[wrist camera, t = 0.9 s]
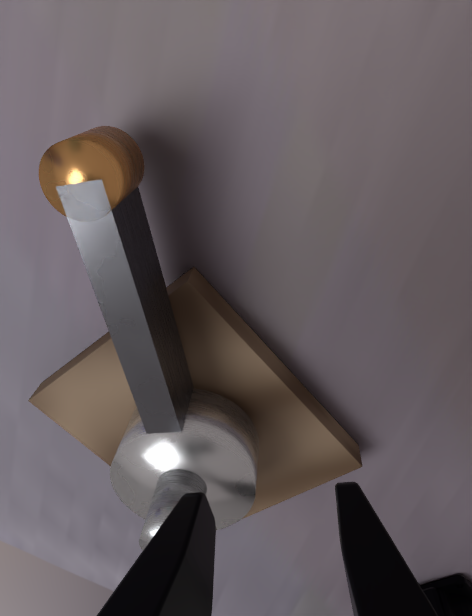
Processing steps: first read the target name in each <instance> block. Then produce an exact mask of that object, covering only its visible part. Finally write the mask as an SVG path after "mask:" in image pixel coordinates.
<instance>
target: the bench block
mask: <svg viewBox="0 0 472 616" xmlns="http://www.w3.org/2000/svg"><path fill="white" fill-rule="evenodd" d="M166 289H167V292H168V296H169V300H170V303H171V307H172V310H173V314H174V318H175V321H176V325H177V328H178V332H179V335H180V339H181V343H182V346H183V350H184V353H185V357H186V361H187V364H188V368H189V371H190V375H191V379H192V382H193V386H194V388H193V389H200V390H206V391H209V392H212V393H215V394H218V395H220V396H223V397H225V398H227V399H228V400H230V401H232V402H233V403H235V404H236V405H238V406H239V407H240V408H241V409H242V410H244V411H245V413H246V414H247V415H248V416H249V417H250V419H251V420H252V421H253V423H254V425H255V427H256V429H257V432H258V436H259V453H258V466H257V479H256V493H255V500H254V503H253V505H252V507H251V509H250V510H249V512H248V513H247V514H246V515H245V516H244V517H243V518H245V517H248V516H250V515H252V514H255V513H257V512H259V511H262V510H264V509H266V508H268V507H271V506H273V505H275V504H278V503H280V502H282V501H284V500H287V499H289V498H291V497H294V496H296V495H298V494H301V493H303V492H305V491H307V490H310V489H312V488H314V487H317V486H319V485H321V484H324V483H326V482H328V481H330V480H333V479H335V478H337V477H340V476H342V475H344V474H347V473H349V472H351V471H353V470H356V469H358V468H360V467H362V462H361V456H360V450H359V445H358V444H357V443H356V442H355V441H354V440H353V439H352V438H351V437H350V436H349V434H348V433H347V432H346V431H345V430H344V429H343V428H342V427H341V426H340V425H339V424H338V422H337V421H336V420H335V419H334V418H333V417H332V416H331V415H330V414H329V413H328V412H327V411H326V409H325V408H324V407H323V406H322V405H321V404H320V403H319V402H318V401H317V400H316V399H315V398H314V396H313V395H312V394H311V393H310V392H309V391H308V390H307V389H306V388H305V387H304V386H303V384H302V383H301V382H300V381H299V380H298V379H297V378H296V377H295V376H294V375H293V374H292V373H291V371H290V370H289V369H288V368H287V367H286V366H285V365H284V364H283V363H282V362H281V361H280V360H279V358H278V357H277V356H276V355H275V354H274V353H273V352H272V351H271V350H270V349H269V348H268V346H267V345H266V344H265V343H264V342H263V341H262V340H261V339H260V338H259V337H258V336H257V335H256V333H255V332H254V331H253V330H252V329H251V328H250V327H249V326H248V325H247V324H246V323H245V322H244V320H243V319H242V318H241V317H240V316H239V315H238V314H237V313H236V312H235V311H234V310H233V308H232V307H231V306H230V305H229V304H228V303H227V302H226V301H225V300H224V299H223V298H222V297H221V295H220V294H219V293H218V292H217V291H216V290H215V289H214V288H213V287H212V286H211V285H210V284H209V282H208V281H207V280H206V279H205V278H204V277H203V276H202V275H201V274H200V273H199V272H198V270H197V269H196V268H195V267H193V268H192V269H190V270H189V271H188V272H186V273H185V274H184V275H182V276H181V277H180V278H178V279H177V280H176V281H175V282H173V283H172V284H171V285H169V286H168V287H167V288H166ZM28 401H29V402H31V403H32V404H33V405H34V406H36V407H37V408H38V409H39V410H41V411H42V412H43V413H44V414H46V415H47V416H48V417H49V418H51V419H52V420H53V421H54V422H56V423H57V424H58V425H59V426H61V427H62V428H63V429H64V430H66V431H67V432H68V433H69V434H71V435H72V436H73V437H75V438H76V439H77V440H78V441H80V442H81V443H82V444H83V445H85V446H86V447H87V448H88V449H90V450H91V451H92V452H93V453H95V454H96V455H97V456H98V457H100V458H101V459H102V460H103V461H105V462H106V463H107V464H108V465H110V466H111V464H112V461H113V459H114V456H115V454H116V452H117V449H118V447H119V445H120V442H121V440H122V438H123V435H124V433H125V431H126V428H127V426H128V424H129V421H130V419H131V417H132V415H133V412H134V411H135V409H136V408H137V406H136V404H135V401H134V398H133V395H132V393H131V390H130V387H129V385H128V382H127V379H126V376H125V374H124V371H123V368H122V366H121V363H120V360H119V357H118V355H117V352H116V349H115V346H114V344H113V341H112V338H111V336H110V333H109V332H108V333H106V334H105V335H104V336H102V337H101V338H100V339H98V340H97V341H96V342H94V343H93V344H92V345H91V346H89V347H88V348H87V349H85V350H84V351H83V352H81V353H80V354H79V355H77V356H76V357H75V358H73V359H72V360H71V361H70V362H68V363H67V364H66V365H64V366H63V367H62V368H60V369H59V370H58V371H56V372H55V373H54V374H52V375H51V376H50V377H49V378H47V379H46V380H45V381H43V382H42V383H41V384H40V386H39V387H38V388H37V390H36V391H35V392H34V394H33V395H32V396H31V398H30V399H29V400H28ZM243 518H242V519H243Z"/></svg>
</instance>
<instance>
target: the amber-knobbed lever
mask: <svg viewBox="0 0 472 616" xmlns="http://www.w3.org/2000/svg"><path fill="white" fill-rule="evenodd" d="M143 174H144V160H143V156H142V153H141V151H140V148H139V147H138V145H137V144H136V142H135V141H134V140H133V139H132V138H131V137H130V136H129V135H128V134H127V133H125V132H124V131H122V130H120V129H118V128H115V127H110V126H100V127H96V128H93V129H91V130H88V131H86V132H83V133H81V134H78V135H76V136H73V137H71V138H68V139H66V140H63V141H61V142H58V143H56V144H54V145H52V146H51V147H50V148H49V149H48V150H47V151H46V152H45V153H44V155H43V157H42V159H41V162H40V166H39V180H40V185H41V188H42V190H43V193H44V195H45V196H46V198H47V200H48V201H49V202H50V204H51V205H52V206H53V207H54V208H55V209H56V210H57V211H59V212H60V213H61V214H63V215H64V216H66V217H67V218H68V221H69V224H70V227H71V229H72V232H73V235H74V238H75V240H76V243H77V246H78V248H79V251H80V254H81V257H82V259H83V262H84V265H85V267H86V270H87V273H88V276H89V278H90V281H91V284H92V287H93V289H94V292H95V295H96V297H97V300H98V303H99V306H100V308H101V311H102V314H103V316H104V319H105V322H106V325H107V327H108V330H109V333H110V336H111V338H112V341H113V344H114V346H115V349H116V352H117V355H118V357H119V360H120V363H121V366H122V368H123V371H124V374H125V376H126V379H127V382H128V385H129V387H130V390H131V393H132V395H133V398H134V401H135V404H136V406H137V408H136V409H135V411H134V412H133V415H132V417H131V419H130V421H129V424H128V426H127V428H126V431H125V433H124V435H123V438H122V440H121V442H120V445H119V447H118V449H117V452H116V454H115V456H114V459H113V461H112V464H111V468H110V478H111V483H112V486H113V489H114V490H115V492H116V494H117V496H118V497H119V498H120V500H121V501H122V502H123V503H124V504H125V505H126V506H127V507H128V508H129V509H130V510H131V511H133V512H134V513H136V514H137V515H138V516H140V517H142V518H143V519H145V523H144V527H143V530H142V533H141V537H140V540H139V545H140V547H141V549H142V551H143V550H144V549H145V547H146V546H147V545H148V543H149V542H150V540H151V539H152V538H153V536H154V535H155V533H156V532H157V530H158V529H159V528H160V526H161V525H162V523H163V522H164V521H165V519H166V518H167V516H168V515H169V514H170V512H171V511H172V509H173V508H174V507H175V505H176V504H177V502H178V501H179V500H180V498H181V497H182V496H183V495H184V494H186V493H194V492H203V493H204V494H205V495H206V497H207V500H208V502H209V505H210V507H211V510H212V513H213V515H214V518H215V524H216V530H219V529H223V528H225V527H228V526H230V525H232V524H234V523H236V522H238V521H239V520H241V519H242V518H243V517H244V516H245V515H246V514H247V513H248V512H249V510H250V509H251V507H252V505H253V503H254V500H255V493H256V479H257V466H258V453H259V436H258V432H257V429H256V427H255V425H254V423H253V421H252V420H251V419H250V417H249V416H248V415H247V414H246V413H245V411H244V410H242V409H241V408H240V407H239V406H238V405H236V404H235V403H233V402H232V401H230V400H228V399H227V398H225V397H223V396H220V395H218V394H215V393H212V392H209V391H206V390H200V389H193V388H194V386H193V382H192V379H191V375H190V371H189V368H188V364H187V361H186V357H185V353H184V350H183V346H182V343H181V339H180V335H179V332H178V328H177V325H176V321H175V318H174V314H173V310H172V307H171V303H170V300H169V296H168V292H167V289H166V285H165V282H164V278H163V274H162V271H161V267H160V264H159V260H158V257H157V253H156V249H155V246H154V242H153V239H152V235H151V231H150V228H149V224H148V221H147V217H146V214H145V210H144V206H143V203H142V199H141V196H140V192H139V188H138V186H139V184H140V182H141V180H142V178H143Z"/></svg>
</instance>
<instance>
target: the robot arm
mask: <svg viewBox="0 0 472 616" xmlns="http://www.w3.org/2000/svg"><path fill="white" fill-rule="evenodd" d="M335 493H336V503H337V514H338V525H339V536H340V544H341V551H342V556H343V561H344V566H345V572H346V577H347V582H348V588H349V593H350V598H351V603H352V609H353V614H354V616H472V585H471V583H470V582H469V581H468V580H467V579H466V578H465V577H463V576H453V577H450V578H447V579H443V580H440V581H437V582H433V583H430V584H427V585H423V586H420V585H419V584H418V582H417V580H416V579H415V577H414V575H413V574H412V572H411V570H410V569H409V567H408V565H407V564H406V562H405V560H404V559H403V557H402V555H401V554H400V552H399V551H398V549H397V547H396V546H395V544H394V542H393V541H392V539H391V537H390V536H389V534H388V532H387V531H386V529H385V527H384V526H383V524H382V522H381V521H380V519H379V518H378V516H377V514H376V513H375V511H374V509H373V508H372V506H371V504H370V503H369V501H368V499H367V498H366V496H365V494H364V493H363V491H362V490H361V488H360V486H359V485H358V484H357V483H356V482H343V483H337V484H336V485H335ZM215 535H216V524H215V518H214V515H213V513H212V510H211V507H210V505H209V502H208V500H207V497H206V495H205V494H204V493H203V492H194V493H186V494H184V495H183V496H182V497H181V498H180V500H179V501H178V502H177V504H176V505H175V507H174V508H173V509H172V511H171V512H170V514H169V515H168V516H167V518H166V519H165V521H164V522H163V523H162V525H161V526H160V528H159V529H158V530H157V532H156V533H155V535H154V536H153V538H152V539H151V540H150V542H149V543H148V545H147V546H146V547H145V549H144V550H143V552H142V553H141V554H140V556H139V557H138V559H137V560H136V561H135V563H134V564H133V566H132V567H131V568H130V570H129V571H128V573H127V574H126V575H125V577H124V578H123V580H122V581H121V582H120V584H119V585H118V587H117V588H116V589H115V591H114V592H113V594H112V595H111V596H110V598H109V599H108V601H107V602H106V604H105V605H104V606H103V608H102V609H101V611H100V612H99V613H98V615H97V616H211V613H212V599H213V578H214V557H215Z"/></svg>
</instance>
